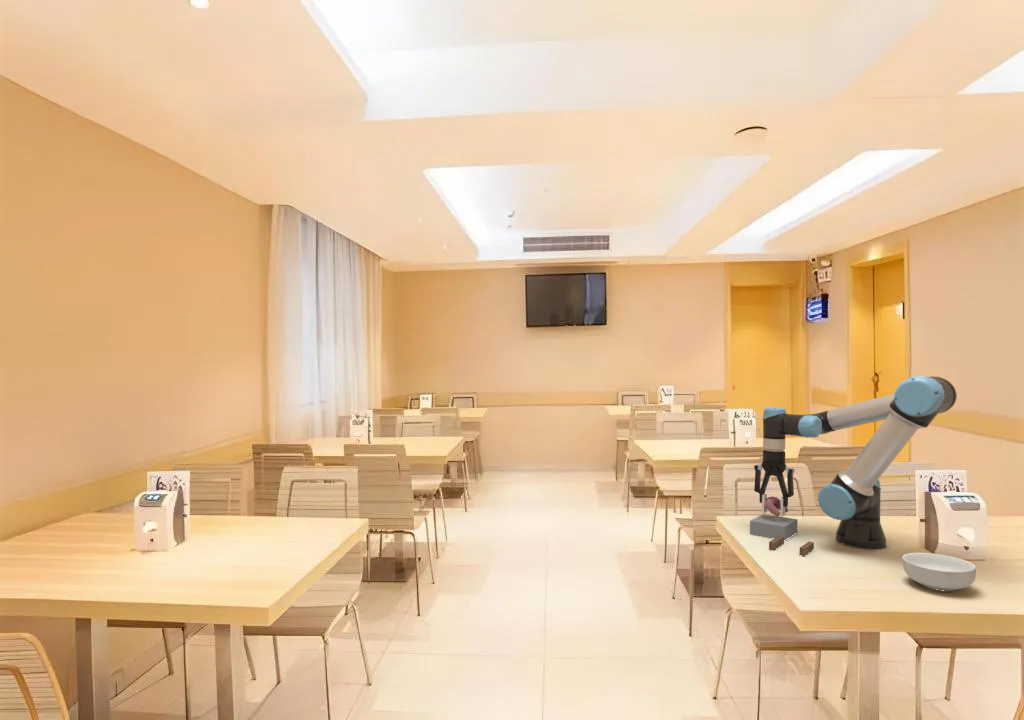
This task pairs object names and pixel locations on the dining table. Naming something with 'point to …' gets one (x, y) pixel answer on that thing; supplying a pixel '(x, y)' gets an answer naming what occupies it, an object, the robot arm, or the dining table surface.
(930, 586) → the cereal bowl
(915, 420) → the robot arm
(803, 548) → the walnut guide rails
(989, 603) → the dining table surface
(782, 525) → the charcoal stand
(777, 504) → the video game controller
